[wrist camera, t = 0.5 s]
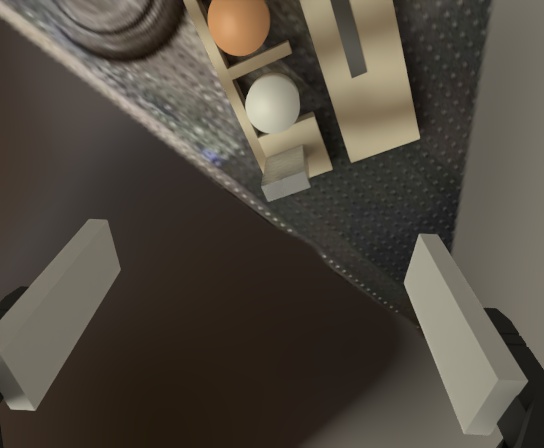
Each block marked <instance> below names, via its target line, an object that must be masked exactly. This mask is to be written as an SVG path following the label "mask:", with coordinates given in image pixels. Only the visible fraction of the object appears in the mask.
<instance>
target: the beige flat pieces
mask: <svg viewBox="0 0 544 448" xmlns="http://www.w3.org/2000/svg"><path fill="white" fill-rule="evenodd" d="M183 1H184V3H185V5H186V8H187V10H188V12H189V14H190V16H191V18H192V21H193V23H194V25H195V27H196V29H197V31H198V34H199V36H200V38H201V40H202V42H203V44H204V46H205V49H206V51H207V53H208V55H209V57H210V59H211V62H212V64H213V66H214V68H215V70H216V72H217V75H218V77H219V79H220V81H221V83H222V85H223V88H224V90H225V92H226V94H227V96H228V98H229V100H230V103H231V105H232V107H233V109H234V111H235V113H236V116H237V118H238V120H239V122H240V124H241V126H242V129H243V131H244V133H245V135H246V137H247V139H248V141H249V144H250V146H251V148H252V150H253V152H254V154H255V157H256V159H257V161H258V163H259V165H260V167H261V170H262V172H263V173H264V168H265V162H266V157H269V156H272V155H274V154H277V153H280V152H282V151H285V150H288V149H290V148H293V147H296V146H298V145H301V144H303V147H304V149H305V152H306V155H307V157H308V166H309V176H310V177H313V176H315V175H318V174H321V173H324V172H327V171H330V170H332V165H331V161H330V158H329V155H328V152H327V150H326V147H325V144H324V141H323V138H322V135H321V132H320V129H319V127H318V124H317V121H316V118H315V115H314V112H313V111H311V112H308V113H306V114H303V115H301V116H298V118H297V119H296V121H295V123H294V124H293V125H292V126H291V127H290V128H289V129H287V130H286V131H283V132H281V133H276V134H269V133H265V132H262V131H261V132H259V131H258V129H257V128H256V127H255V126H253V124H252V123H251V122H250V120H249V119H248V116H247V114H246V108H245V102H246V101H245V99H244V97H243V94H242V92H241V90H240V88H239V85H238V83H237V81H236V78H238V77H240V76H242V75H245V74H247V73H249V72H251V71H254V70H256V69H258V68H260V67H263V66H265V65H267V64H269V63H271V62H274V61H276V60H278V59H280V58H283V57H285V56H287V55H289V54H292V49H291V46H290V43H289V40H285V41H283V42H281V43H279V44H277V45H275V46H272V47H270V48H268V49H266V50H264V51H261V52H259V53H257V54H255V55H253V56H251V57H248V58H246V59H244V60H242V61H240V62H237V63H235V64H233V65H231V66H230V65H229V63H228V60H227V58H226V56H225V53H224V51H223V50H222V49H221V48H220V47H219V46H218V45H217V44H216V43H215V41H214V40H213V38H212V36H211V34H210V31H209V27H208V15H207V13H206V10H205V8H204V6H203V4H202V1H201V0H183ZM299 1H300V4H301V7H302V10H303V13H304V17H305V20H306V23H307V26H308V29H309V32H310V36H311V39H312V42H313V45H314V48H315V51H316V54H317V58H318V61H319V64H320V67H321V70H322V73H323V77H324V80H325V83H326V86H327V89H328V92H329V96H330V99H331V102H332V105H333V108H334V111H335V115H336V118H337V121H338V124H339V127H340V130H341V133H342V137H343V140H344V143H345V146H346V149H347V152H348V156H349V158H350V161H351V163H352V162H355V161H358V160H361V159H364V158H367V157H369V156H372V155H375V154H378V153H381V152H384V151H387V150H389V149H392V148H395V147H398V146H401V145H404V144H406V143H409V142H412V141H415V140H418V139H420V136H419V131H418V126H417V121H416V116H415V111H414V106H413V101H412V96H411V90H410V85H409V80H408V75H407V70H406V65H405V60H404V55H403V50H402V45H401V40H400V35H399V30H398V25H397V20H396V15H395V10H394V5H393V0H299Z"/></svg>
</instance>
